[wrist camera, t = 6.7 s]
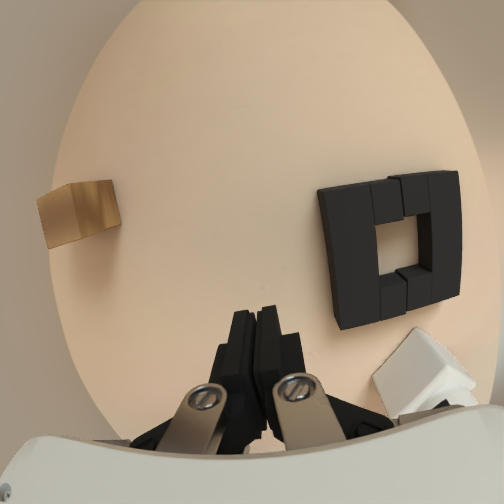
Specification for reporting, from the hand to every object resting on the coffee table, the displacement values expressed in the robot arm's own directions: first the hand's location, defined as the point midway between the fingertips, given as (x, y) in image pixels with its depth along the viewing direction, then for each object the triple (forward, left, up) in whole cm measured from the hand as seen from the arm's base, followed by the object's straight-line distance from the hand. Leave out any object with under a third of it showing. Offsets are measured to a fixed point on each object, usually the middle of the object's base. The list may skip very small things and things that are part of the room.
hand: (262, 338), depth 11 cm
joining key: (-7, -13, -12) cm, 19 cm away
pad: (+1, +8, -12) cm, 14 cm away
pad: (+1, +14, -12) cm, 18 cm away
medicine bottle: (+15, +14, -12) cm, 23 cm away
